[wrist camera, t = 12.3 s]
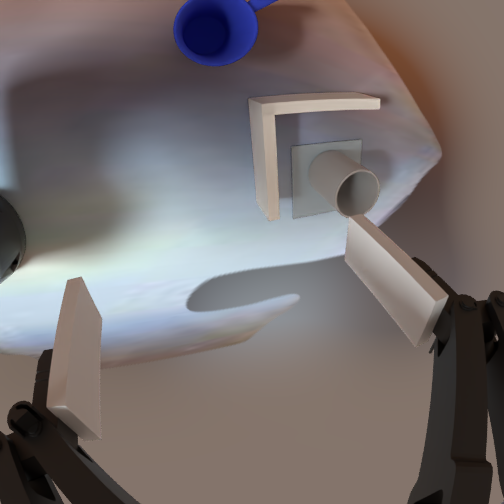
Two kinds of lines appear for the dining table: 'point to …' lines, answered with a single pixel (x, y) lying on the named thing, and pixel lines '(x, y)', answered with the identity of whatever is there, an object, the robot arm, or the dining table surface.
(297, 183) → the pad
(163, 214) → the dining table surface
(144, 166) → the dining table surface
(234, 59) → the mug
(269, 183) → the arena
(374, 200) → the cup
